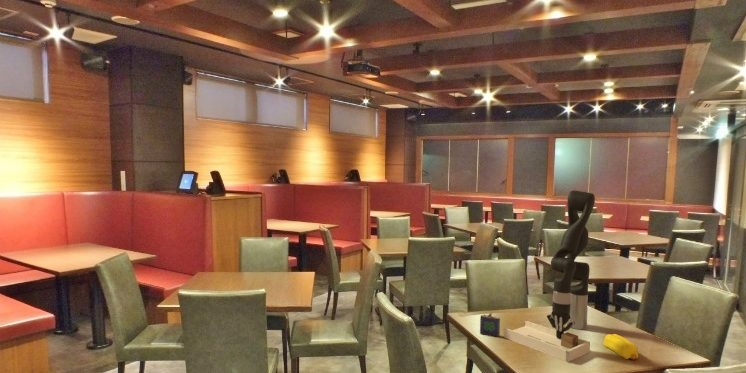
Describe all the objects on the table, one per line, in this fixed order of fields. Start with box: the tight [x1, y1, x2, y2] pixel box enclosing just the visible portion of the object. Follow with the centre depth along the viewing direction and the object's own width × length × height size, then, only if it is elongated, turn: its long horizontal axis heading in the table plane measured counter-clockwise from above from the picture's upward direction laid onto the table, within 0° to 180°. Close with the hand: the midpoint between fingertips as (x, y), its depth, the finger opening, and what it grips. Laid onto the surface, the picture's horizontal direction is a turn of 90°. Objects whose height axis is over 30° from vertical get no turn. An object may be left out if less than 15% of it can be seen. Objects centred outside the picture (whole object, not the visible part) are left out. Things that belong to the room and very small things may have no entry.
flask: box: [479, 312, 501, 338], centre depth 213 cm, size 9×3×11 cm, turn 68°
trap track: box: [503, 320, 591, 363], centre depth 202 cm, size 18×32×4 cm, turn 37°
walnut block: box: [561, 331, 579, 349], centre depth 196 cm, size 5×5×5 cm
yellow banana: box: [603, 333, 639, 360], centre depth 195 cm, size 18×7×8 cm
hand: (559, 338), depth 200 cm, fingers closed
